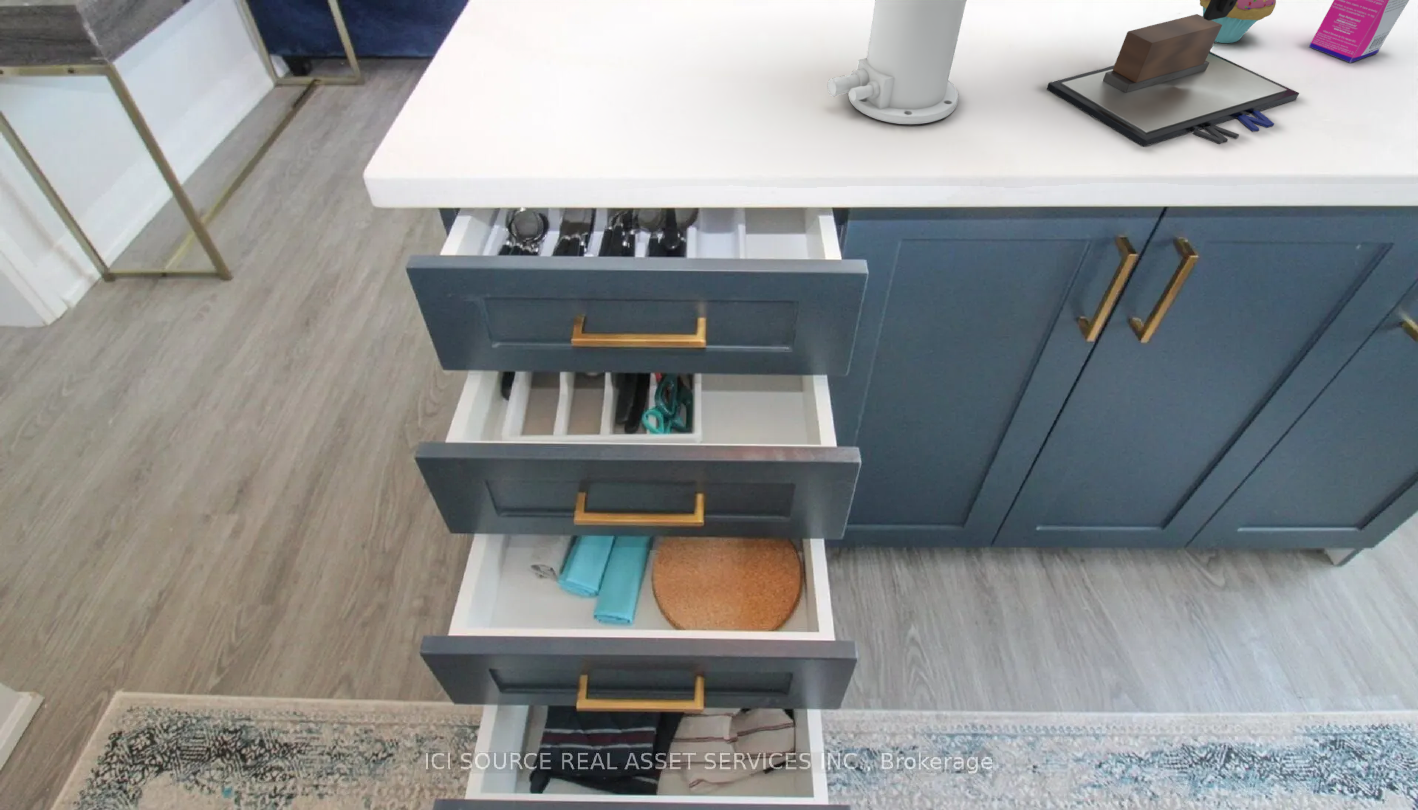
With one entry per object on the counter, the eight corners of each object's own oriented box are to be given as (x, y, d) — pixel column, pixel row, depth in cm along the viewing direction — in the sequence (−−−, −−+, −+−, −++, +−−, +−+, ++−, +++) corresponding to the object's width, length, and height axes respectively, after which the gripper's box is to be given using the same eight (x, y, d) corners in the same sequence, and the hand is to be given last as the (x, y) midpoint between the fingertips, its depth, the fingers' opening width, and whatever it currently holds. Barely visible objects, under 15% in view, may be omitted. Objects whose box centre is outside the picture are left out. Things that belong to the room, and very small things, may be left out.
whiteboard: (1143, 147, 81) (1147, 138, 80) (1046, 89, 90) (1048, 81, 90) (1295, 99, 88) (1300, 91, 87) (1191, 50, 97) (1194, 42, 96)
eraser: (1125, 93, 87) (1145, 45, 83) (1102, 80, 89) (1120, 32, 85) (1206, 70, 91) (1229, 23, 87) (1181, 59, 93) (1203, 12, 89)
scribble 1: (1214, 146, 81) (1215, 143, 81) (1191, 133, 83) (1192, 130, 83) (1239, 137, 82) (1240, 135, 82) (1216, 125, 84) (1217, 122, 84)
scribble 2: (1254, 132, 83) (1255, 129, 83) (1230, 120, 85) (1231, 117, 85) (1279, 124, 84) (1280, 121, 84) (1255, 112, 86) (1257, 109, 86)
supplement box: (1333, 37, 99) (1390, -61, 91) (1378, 53, 96) (1442, -47, 87) (1305, 46, 97) (1361, -53, 89) (1350, 64, 94) (1413, -38, 85)
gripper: (1165, -207, 75) (1096, -20, 88) (1324, -168, 65) (1219, 37, 78) (1218, -211, 77) (1142, -29, 90) (1379, -174, 67) (1268, 26, 80)
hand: (1178, 1), depth 84 cm, fingers open, 9 cm apart
